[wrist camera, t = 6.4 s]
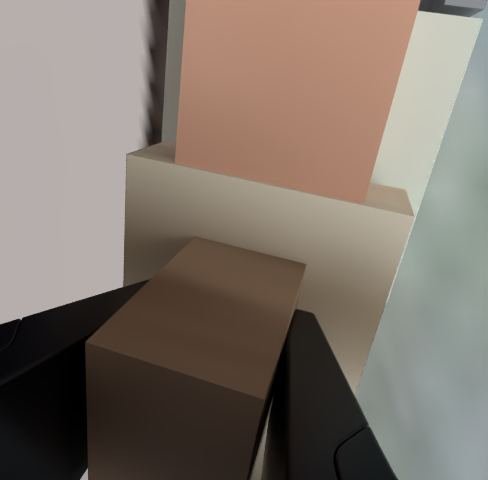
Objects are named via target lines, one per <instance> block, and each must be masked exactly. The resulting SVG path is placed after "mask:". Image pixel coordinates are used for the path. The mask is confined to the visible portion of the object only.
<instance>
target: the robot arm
mask: <svg viewBox="0 0 488 480" xmlns="http://www.w3.org/2000/svg"><path fill="white" fill-rule="evenodd" d="M151 279H152V278H151ZM151 279H148V280H145V281H141V282H138V283H135V284H131V285H128V286H125V287H122V288H118V289H116V290H112V291H108V292H105V293H102V294H99V295H95V296H92V297H89V298H86V299H82V300H79V301H76V302H72V303H69V304H66V305H63V306H59V307H56V308H53V309H49V310H46V311H43V312H40V313H36V314H33V315H30V316H27V317H23V318H22V320H20V319H16V320H13V321H10V322H7V323H3V324H0V480H80V479H81V477H82V476H83V474H84V473H85V471H86V470H87V468H88V444H87V400H86V356H85V342H86V341H87V340H88V339H89V338H90V337H91V336H92V335H93V334H94V333H95V332H96V331H97V330H98V329H99V328H100V327H101V326H102V325H104V324H105V323H106V322H107V321H108V320H109V319H110V318H111V317H112V316H113V315H114V314H115V313H116V312H117V311H118V310H119V309H120V308H121V307H122V306H123V305H124V304H126V303H127V302H128V301H129V300H130V299H131V298H132V297H133V296H134V295H135V294H136V293H137V292H138V291H139V290H140V289H141V288H142V287H143V286H144V285H145V284H146V283H148V282H149V281H150V280H151ZM261 480H398V479H397V477H396V475H395V474H394V472H393V470H392V468H391V466H390V465H389V463H388V461H387V459H386V457H385V455H384V453H383V451H382V450H381V448H380V446H379V444H378V442H377V440H376V438H375V436H374V434H373V432H372V429H371V428H370V427H369V424H368V422H367V420H366V418H365V416H364V414H363V412H362V410H361V408H360V406H359V403H358V401H357V399H356V397H355V395H354V393H353V391H352V389H351V387H350V385H349V383H348V381H347V379H346V377H345V375H344V373H343V371H342V369H341V367H340V365H339V363H338V361H337V359H336V357H335V355H334V353H333V351H332V349H331V347H330V345H329V343H328V341H327V339H326V336H325V334H324V332H323V330H322V328H321V326H320V324H319V322H318V320H317V318H316V316H315V314H314V313H312V312H308V311H304V310H300V309H296V310H295V311H294V314H293V317H292V321H291V324H290V327H289V330H288V333H287V337H286V341H285V346H284V350H283V355H282V359H281V364H280V368H279V373H278V377H277V382H276V386H275V391H274V395H273V400H272V404H271V409H270V414H269V421H268V428H267V436H266V445H265V453H264V461H263V469H262V477H261Z"/></svg>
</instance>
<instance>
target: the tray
mask: <svg viewBox="0 0 488 480" xmlns="http://www.w3.org/2000/svg"><path fill="white" fill-rule="evenodd" d="M486 3H487V0H421V1H420V5H419V8H418V11H424V12H432V13H440V14H448V15H456V16H464V17H470V16H472V15H474V14H476V13H478V12H480V11H482V10H484V9H485V6H486Z"/></svg>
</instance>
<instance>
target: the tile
mask: <svg viewBox="0 0 488 480" xmlns="http://www.w3.org/2000/svg"><path fill="white" fill-rule="evenodd" d="M420 1H421V0H186V9H185V24H184V38H183V52H182V66H181V80H180V94H179V109H178V123H177V137H176V151H175V163H179V164H184V165H188V166H193V167H198V168H202V169H207V170H212V171H216V172H221V173H226V174H230V175H235V176H240V177H244V178H249V179H254V180H258V181H263V182H268V183H272V184H277V185H282V186H286V187H291V188H296V189H301V190H305V191H310V192H315V193H319V194H324V195H329V196H333V197H338V198H343V199H347V200H352V201H357V202H361V203H364V201H365V198H366V194H367V191H368V187H369V184H370V180H371V176H372V173H373V169H374V166H375V162H376V158H377V155H378V151H379V148H380V144H381V141H382V137H383V133H384V130H385V126H386V123H387V119H388V116H389V112H390V108H391V105H392V101H393V98H394V94H395V90H396V87H397V83H398V80H399V76H400V73H401V69H402V65H403V62H404V58H405V55H406V51H407V48H408V44H409V40H410V37H411V33H412V30H413V26H414V22H415V19H416V15H417V12H418V8H419V5H420Z"/></svg>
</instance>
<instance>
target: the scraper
mask: <svg viewBox="0 0 488 480" xmlns="http://www.w3.org/2000/svg"><path fill="white" fill-rule="evenodd" d="M175 151H176V142H172V141H164V142H161V143H158V144H155V145H152V146H149V147H146V148H143V149H140V150H137V151H135V152H131V153H128V154H126V155H127V156H126V198H125V240H124V281H123V282H124V283H123V287H125V286H128V285H131V284H135V283H138V282H141V281H145V280H148V279H151V278H152V279H151V280H150V281H149V282H148V283H146V284H145V285H144V286H143V287H142V288H141V289H140V290H139V291H138V292H137V293H136V294H135V295H134V296H133V297H132V298H131V299H130V300H129V301H128V302H127V303H126V304H124V305H123V306H122V307H121V308H120V309H119V310H118V311H117V312H116V313H115V314H114V315H113V316H112V317H111V318H110V319H109V320H108V321H107V322H106V323H105V324H104V325H102V326H101V327H100V328H99V329H98V330H97V331H96V332H95V333H94V334H93V335H92V336H91V337H90V338H89V339H88V340H87V341H86V342H85V356H86V400H87V444H88V480H251V478H252V475H253V471H254V468H255V464H256V461H257V457H258V454H259V450H260V447H261V443H262V440H263V436H264V433H265V429H266V425H267V422H268V418H269V414H270V409H271V404H272V400H273V395H274V391H275V386H276V382H277V377H278V373H279V368H280V364H281V359H282V355H283V350H284V346H285V341H286V337H287V333H288V330H289V327H290V324H291V321H292V317H293V314H294V311H295V310H296V309H300V310H304V311H308V312H312V313H314V314H315V316H316V318H317V320H318V322H319V324H320V326H321V328H322V330H323V332H324V334H325V336H326V339H327V341H328V343H329V345H330V347H331V349H332V351H333V353H334V355H335V357H336V359H337V361H338V363H339V365H340V367H341V369H342V371H343V373H344V375H345V377H346V379H347V381H348V383H349V385H350V387H351V389H352V391H353V393H354V395H355V393H356V390H357V387H358V384H359V381H360V378H361V375H362V372H363V369H364V366H365V363H366V360H367V357H368V354H369V351H370V348H371V345H372V342H373V340H374V337H375V334H376V331H377V328H378V325H379V322H380V319H381V316H382V313H383V310H384V307H385V304H386V301H387V298H388V295H389V292H390V289H391V286H392V283H393V280H394V277H395V274H396V271H397V268H398V265H399V262H400V259H401V256H402V253H403V250H404V247H405V244H406V241H407V238H408V236H409V233H410V230H411V227H412V224H413V221H414V218H415V216H414V213H413V210H412V207H411V204H410V201H409V198H408V195H407V192H406V190H405V189H400V188H395V187H391V186H386V185H381V184H376V183H371V182H370V184H369V187H368V191H367V194H366V198H365V201H364V203H361V202H357V201H352V200H347V199H343V198H338V197H333V196H329V195H324V194H319V193H315V192H310V191H305V190H301V189H296V188H291V187H286V186H282V185H277V184H272V183H268V182H263V181H258V180H254V179H249V178H244V177H240V176H235V175H230V174H226V173H221V172H216V171H212V170H207V169H202V168H198V167H193V166H188V165H184V164H179V163H175Z"/></svg>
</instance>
